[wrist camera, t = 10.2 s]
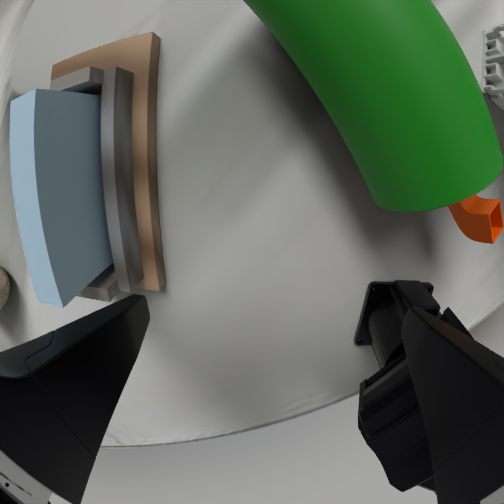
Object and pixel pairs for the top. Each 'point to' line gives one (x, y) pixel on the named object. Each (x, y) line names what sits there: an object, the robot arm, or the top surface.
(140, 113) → the cabinet base
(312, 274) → the top surface
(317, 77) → the motor
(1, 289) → the lumpy boulder
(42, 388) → the robot arm
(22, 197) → the cabinet door
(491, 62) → the circuit breaker
